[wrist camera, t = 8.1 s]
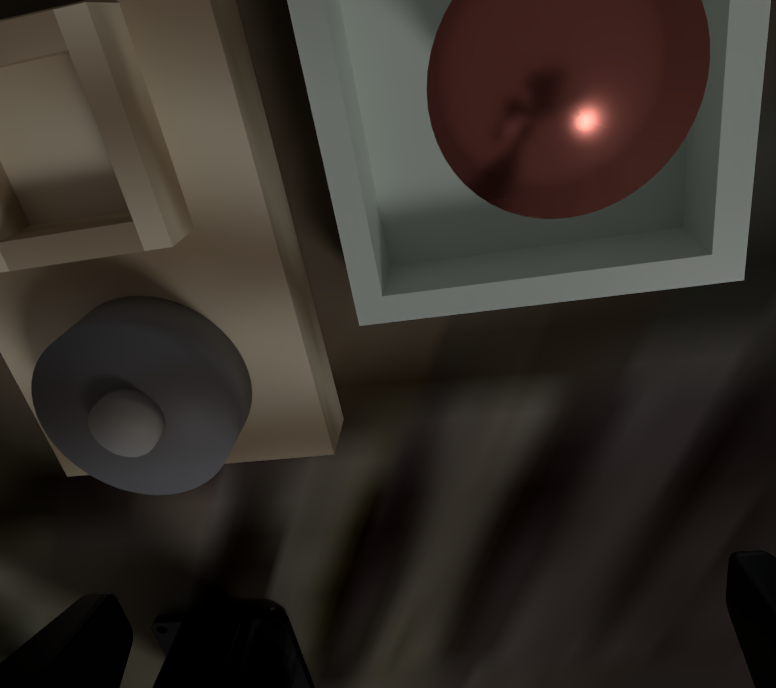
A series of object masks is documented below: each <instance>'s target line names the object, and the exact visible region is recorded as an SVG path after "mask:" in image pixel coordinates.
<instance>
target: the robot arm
mask: <svg viewBox="0 0 776 688" xmlns="http://www.w3.org/2000/svg"><path fill="white" fill-rule="evenodd" d="M726 603H727V608H728V612H729V615H730V618H731V621H732V623H733V626H734V629H735V632H736V635H737V637H738V640H739V643H740V646H741V649H742V651H743V654H744V657H745V660H746V663H747V666H748V668H749V671H750V674H751V677H752V680H753V682H754V685H755V688H776V558H775V557H773V556H772V555H771V554H769V553H767V552H765V551H761V550H756V551H740V552H734V553H732V554H731V556H730V558H729V563H728V575H727V586H726ZM151 628H152V631H153V633H154V635H155V637H156V638H157V640H158V642H159V644H160V646H161V648H162V650H163V652H164V653H165V655H166V658H165V661H164V663H163V665H162V667H161V670H160V672H159V674H158V676H157V679H156V681H155V683H154V685H153V688H315V687H314V685H313V682H312V679H311V677H310V674H309V671H308V669H307V666H306V663H305V661H304V658H303V655H302V653H301V650H300V647H299V645H298V642H297V639H296V637H295V634H294V631H293V629H292V626H291V623H290V621H289V618H288V616H287V615H286V614H285V613H283V612H280V611H254V612H229V613H204V614H178V615H160V616H158V617H156V619H155V621H154V623H153V625H152V627H151ZM132 641H133V631H132V627H131V624H130V622H129V621H128V619H127V617H126V615H125V613H124V611H123V609H122V607H121V605H120V603H119V601H118V600H117V598H116V596H115V595H113V594H112V593H108V592H107V593H92V594H87V595H84V596H83V597H81V598H80V599H79V600H77V601H76V602H75V603H74V604H72V605H71V606H70V607H69V608H67V609H66V610H65V611H64V612H63V613H61V614H60V615H59V616H58V617H56V618H55V619H54V620H53V621H51V622H50V623H49V624H48V625H47V626H45V627H44V628H43V629H42V630H40V631H39V632H38V633H37V634H35V635H34V636H33V637H32V638H31V639H29V640H28V641H27V642H26V643H24V644H23V645H22V646H21V647H19V648H18V649H17V650H16V651H14V652H13V653H12V654H11V655H10V656H8V657H7V658H6V659H5V660H3V661H2V662H1V663H0V688H120V684H121V681H122V677H123V674H124V671H125V667H126V664H127V660H128V657H129V653H130V650H131V646H132Z"/></svg>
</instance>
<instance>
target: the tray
mask: <svg viewBox="0 0 776 688" xmlns="http://www.w3.org/2000/svg"><path fill="white" fill-rule="evenodd" d="M451 1H452V0H287V3H288V7H289V12H290V16H291V21H292V25H293V30H294V34H295V39H296V43H297V48H298V52H299V57H300V61H301V66H302V70H303V75H304V79H305V84H306V88H307V93H308V97H309V102H310V106H311V111H312V115H313V120H314V124H315V129H316V133H317V138H318V142H319V146H320V151H321V155H322V160H323V164H324V169H325V173H326V178H327V182H328V187H329V191H330V196H331V200H332V205H333V209H334V214H335V218H336V223H337V227H338V232H339V236H340V241H341V245H342V250H343V254H344V259H345V263H346V268H347V272H348V277H349V281H350V286H351V290H352V295H353V299H354V304H355V308H356V312H357V317H358V321H359V326H362V325H371V324H379V323H387V322H396V321H404V320H413V319H421V318H430V317H438V316H446V315H455V314H463V313H472V312H480V311H488V310H497V309H505V308H514V307H522V306H531V305H539V304H547V303H556V302H564V301H573V300H581V299H589V298H598V297H606V296H615V295H623V294H632V293H640V292H648V291H657V290H665V289H674V288H682V287H690V286H699V285H707V284H716V283H724V282H732V281H741V280H744V273H745V263H746V253H747V242H748V232H749V222H750V211H751V201H752V191H753V180H754V170H755V160H756V149H757V139H758V129H759V118H760V108H761V98H762V87H763V77H764V67H765V56H766V46H767V36H768V25H769V15H770V5H771V0H702V3H703V6H704V10H705V13H706V17H707V21H708V28H709V35H710V65H709V73H708V81H707V85H706V89H705V93H704V97H703V100H702V103H701V106H700V108H699V111H698V113H697V116H696V119H695V121H694V122H693V124H692V126H691V128H690V130H689V132H688V134H687V136H686V138H685V139H684V141H683V142H682V144H681V145H680V147H679V148H678V150H677V151H676V153H675V154H674V155H673V156H672V157H671V159H670V160H669V161H668V162H667V163H666V165H665V166H664V167H663V168H662V169H661V170H660V171H659V172H658V173H657V174H656V175H655V176H654V177H653V178H652V179H651V180H649V181H648V182H647V183H646V184H644V185H643V186H642V187H640V188H639V189H638V190H637V191H635V192H634V193H632V194H630V195H629V196H627V197H625V198H624V199H622V200H621V201H619V202H617V203H615V204H612V205H610V206H608V207H606V208H604V209H601V210H598V211H595V212H592V213H589V214H586V215H581V216H576V217H571V218H561V219H539V218H531V217H526V216H520V215H517V214H514V213H511V212H507V211H504V210H502V209H500V208H498V207H496V206H494V205H492V204H490V203H488V202H487V201H485V200H484V199H482V198H481V197H479V196H477V195H476V194H475V193H474V192H473V191H472V190H470V189H469V188H468V187H467V186H466V185H465V184H464V183H463V182H462V181H461V180H460V179H459V178H458V176H457V175H456V174H455V173H454V172H453V170H452V169H451V167H450V166H449V164H448V163H447V161H446V160H445V158H444V156H443V154H442V152H441V150H440V148H439V146H438V144H437V141H436V139H435V136H434V133H433V130H432V127H431V122H430V117H429V112H428V104H427V91H426V90H427V71H428V65H429V59H430V53H431V49H432V46H433V42H434V39H435V35H436V32H437V30H438V27H439V25H440V23H441V20H442V18H443V16H444V13H445V12H446V10H447V8H448V6H449V5H450V3H451Z"/></svg>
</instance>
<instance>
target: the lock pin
mask: <svg viewBox="0 0 776 688" xmlns="http://www.w3.org/2000/svg"><path fill="white" fill-rule="evenodd" d="M709 65H710V35H709V28H708V21H707V17H706V13H705V10H704V6H703V3H702V0H452V1H451V3H450V5H449V6H448V8H447V10H446V12H445V13H444V16H443V18H442V20H441V23H440V25H439V27H438V30H437V32H436V35H435V39H434V42H433V46H432V49H431V53H430V59H429V65H428V71H427V90H426V91H427V104H428V112H429V117H430V122H431V127H432V130H433V133H434V136H435V139H436V141H437V144H438V146H439V148H440V150H441V152H442V154H443V156H444V158H445V160H446V161H447V163H448V164H449V166H450V167H451V169H452V170H453V172H454V173H455V174H456V175H457V176H458V178H459V179H460V180H461V181H462V182H463V183H464V184H465V185H466V186H467V187H468V188H469V189H470V190H472V191H473V192H474V193H475V194H476V195H477V196H479V197H481V198H482V199H484V200H485V201H487V202H488V203H490V204H492V205H494V206H496V207H498V208H500V209H502V210H504V211H507V212H511V213H514V214H517V215H520V216H526V217H531V218H539V219H561V218H571V217H576V216H581V215H586V214H589V213H592V212H595V211H598V210H601V209H604V208H606V207H608V206H610V205H612V204H615V203H617V202H619V201H621V200H622V199H624V198H625V197H627V196H629V195H630V194H632V193H634V192H635V191H637V190H638V189H639V188H640V187H642V186H643V185H644V184H646V183H647V182H648V181H649V180H651V179H652V178H653V177H654V176H655V175H656V174H657V173H658V172H659V171H660V170H661V169H662V168H663V167H664V166H665V165H666V163H667V162H668V161H669V160H670V159H671V157H672V156H673V155H674V154H675V153H676V151H677V150H678V148H679V147H680V145H681V144H682V142H683V141H684V139H685V138H686V136H687V134H688V132H689V130H690V128H691V126H692V124H693V122H694V121H695V119H696V116H697V113H698V111H699V108H700V106H701V103H702V100H703V97H704V93H705V89H706V85H707V81H708V73H709Z"/></svg>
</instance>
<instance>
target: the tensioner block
mask: <svg viewBox="0 0 776 688" xmlns="http://www.w3.org/2000/svg"><path fill="white" fill-rule="evenodd" d="M0 352H1V354H2V356H3V358H4V360H5V362H6V363H7V365H8V367H9V369H10V371H11V373H12V375H13V376H14V378H15V380H16V382H17V384H18V386H19V388H20V389H21V391H22V393H23V395H24V397H25V399H26V401H27V403H28V404H29V406H30V408H31V410H32V412H33V414H34V416H35V417H36V419H37V421H38V423H39V425H40V427H41V429H42V430H43V432H44V434H45V436H46V438H47V440H48V442H49V444H50V445H51V447H52V449H53V451H54V453H55V455H56V457H57V458H58V460H59V462H60V464H61V466H62V468H63V470H64V471H65V473H66V475H67V477H69V476H81V475H91V476H93V477H94V478H96V479H98V480H100V481H102V482H104V483H106V484H109V485H111V486H114V487H117V488H119V489H123V490H126V491H130V492H135V493H140V494H148V495H169V494H177V493H181V492H185V491H189V490H191V489H194V488H196V487H199V486H200V485H202V484H204V483H206V482H207V481H208V480H210V479H211V478H212V477H213V476H215V475H216V473H217V472H218V471H219V470H220V469H221V468H222V466H223V464H225V463H237V462H249V461H261V460H273V459H285V458H297V457H310V456H322V455H334V453H335V449H336V446H337V442H338V438H339V435H340V431H341V427H342V424H343V420H344V419H343V415H342V411H341V407H340V403H339V400H338V396H337V392H336V388H335V384H334V380H333V376H332V372H331V368H330V364H329V361H328V357H327V353H326V349H325V345H324V341H323V337H322V333H321V329H320V325H319V322H318V318H317V314H316V310H315V306H314V302H313V298H312V294H311V290H310V286H309V283H308V279H307V275H306V271H305V267H304V263H303V259H302V255H301V251H300V247H299V244H298V240H297V236H296V232H295V228H294V224H293V220H292V216H291V212H290V208H289V205H288V201H287V197H286V193H285V189H284V185H283V181H282V177H281V173H280V169H279V166H278V162H277V158H276V154H275V150H274V146H273V142H272V138H271V134H270V130H269V127H268V123H267V119H266V115H265V111H264V107H263V103H262V99H261V95H260V91H259V88H258V84H257V80H256V76H255V72H254V68H253V64H252V60H251V56H250V52H249V49H248V45H247V41H246V37H245V33H244V29H243V25H242V21H241V17H240V13H239V10H238V6H237V2H236V0H84V1H80V2H75V3H71V4H67V5H62V6H58V7H53V8H49V9H45V10H40V11H36V12H32V13H27V14H23V15H18V16H14V17H10V18H5V19H1V20H0Z"/></svg>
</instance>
